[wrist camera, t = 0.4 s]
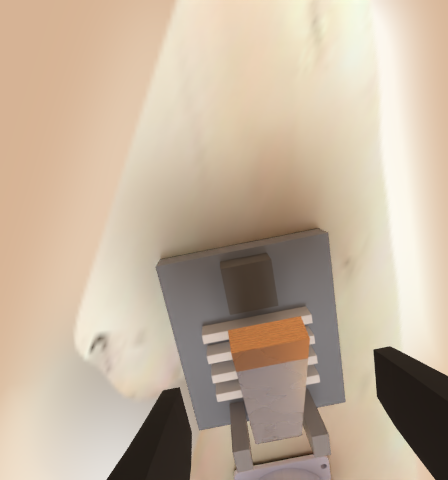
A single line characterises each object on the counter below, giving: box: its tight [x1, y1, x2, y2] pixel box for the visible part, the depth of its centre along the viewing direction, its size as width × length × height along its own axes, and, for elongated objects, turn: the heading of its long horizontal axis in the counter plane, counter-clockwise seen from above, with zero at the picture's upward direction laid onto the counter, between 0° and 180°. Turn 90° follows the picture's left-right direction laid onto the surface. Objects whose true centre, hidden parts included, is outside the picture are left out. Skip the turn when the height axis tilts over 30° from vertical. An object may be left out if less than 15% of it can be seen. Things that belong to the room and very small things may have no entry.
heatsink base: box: [156, 228, 345, 473], centre depth 17 cm, size 13×11×5 cm
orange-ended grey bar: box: [228, 316, 310, 444], centre depth 14 cm, size 12×3×1 cm, turn 11°
